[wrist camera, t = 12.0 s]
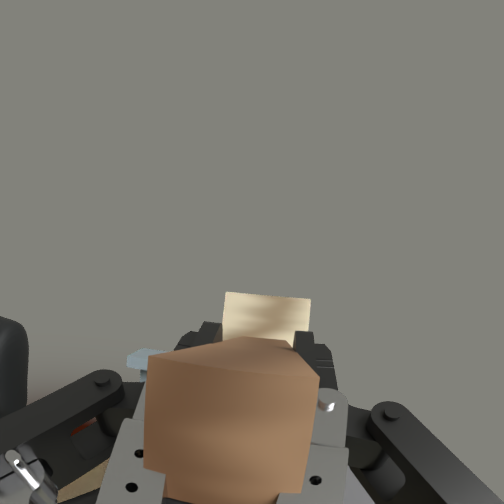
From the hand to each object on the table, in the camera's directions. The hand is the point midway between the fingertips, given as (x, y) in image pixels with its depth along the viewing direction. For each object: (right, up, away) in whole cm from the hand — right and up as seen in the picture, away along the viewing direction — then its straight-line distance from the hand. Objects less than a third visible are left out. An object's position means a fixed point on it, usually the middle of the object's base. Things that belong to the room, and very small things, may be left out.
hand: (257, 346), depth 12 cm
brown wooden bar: (0, -3, +2) cm, 4 cm away
